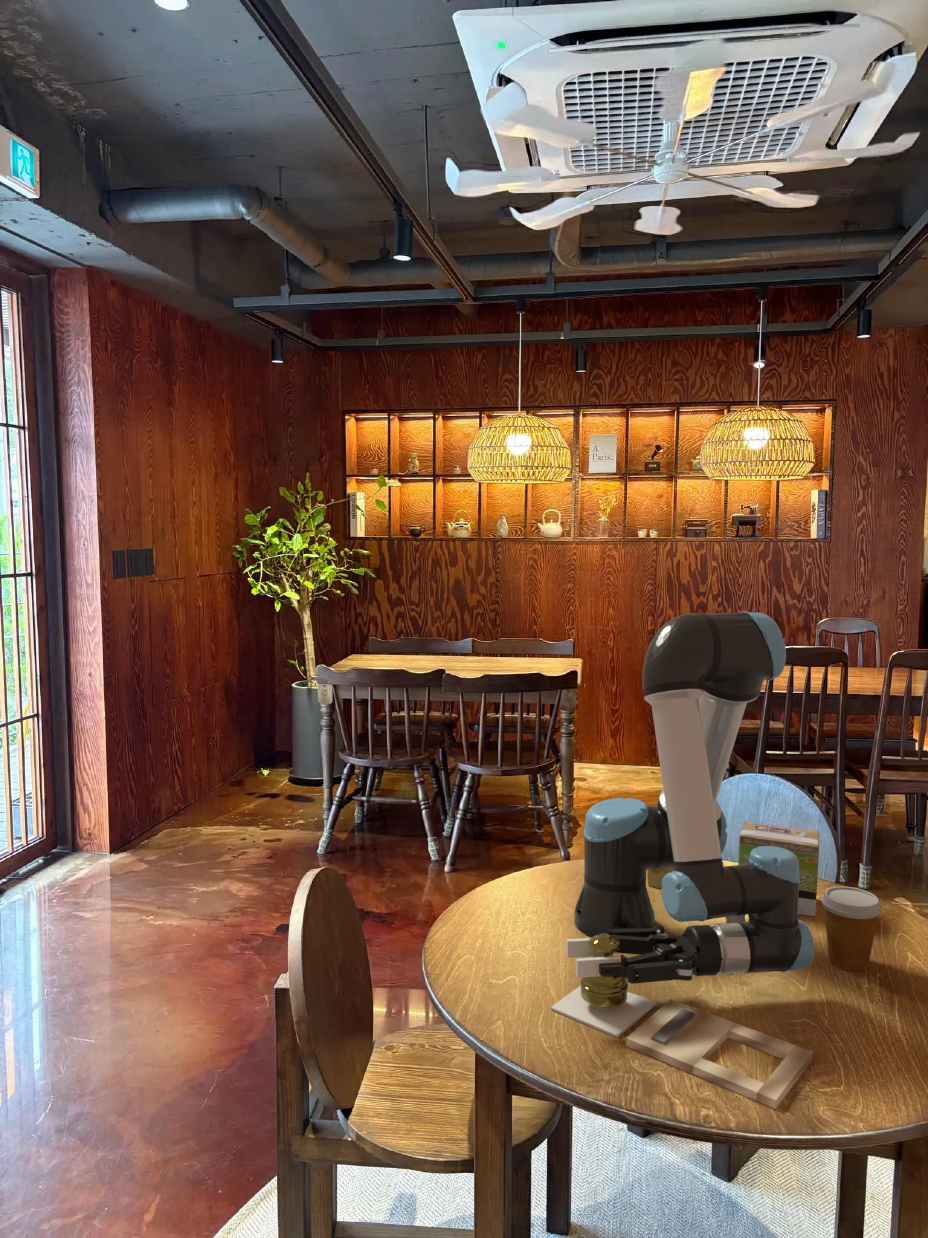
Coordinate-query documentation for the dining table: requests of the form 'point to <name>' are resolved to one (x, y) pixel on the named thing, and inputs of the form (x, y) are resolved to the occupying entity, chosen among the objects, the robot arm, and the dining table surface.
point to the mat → (604, 1012)
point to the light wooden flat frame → (698, 1035)
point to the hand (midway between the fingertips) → (572, 958)
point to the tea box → (797, 843)
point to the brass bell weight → (604, 977)
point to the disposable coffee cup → (850, 926)
